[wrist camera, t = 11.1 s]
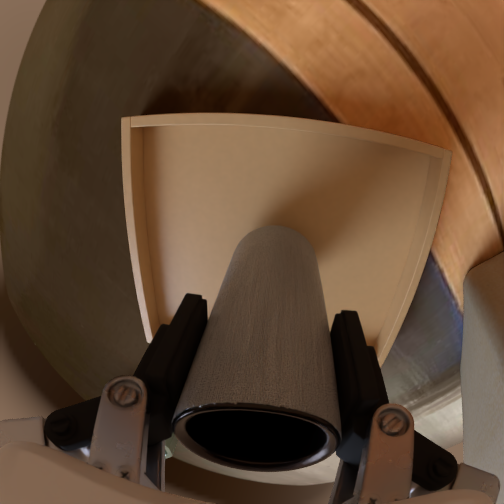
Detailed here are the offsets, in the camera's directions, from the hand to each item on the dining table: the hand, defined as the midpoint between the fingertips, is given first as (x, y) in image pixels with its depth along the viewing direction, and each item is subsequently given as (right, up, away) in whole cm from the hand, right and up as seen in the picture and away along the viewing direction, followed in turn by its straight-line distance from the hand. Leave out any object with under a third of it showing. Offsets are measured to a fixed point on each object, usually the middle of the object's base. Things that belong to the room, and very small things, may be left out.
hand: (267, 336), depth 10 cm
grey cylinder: (+1, +3, +5) cm, 6 cm away
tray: (+1, +3, +7) cm, 7 cm away
